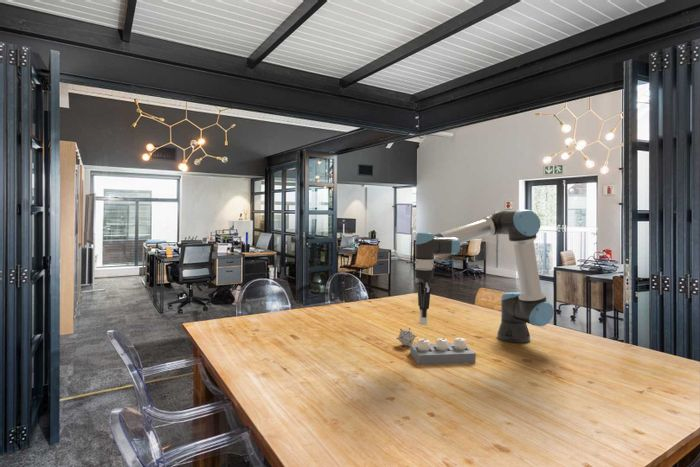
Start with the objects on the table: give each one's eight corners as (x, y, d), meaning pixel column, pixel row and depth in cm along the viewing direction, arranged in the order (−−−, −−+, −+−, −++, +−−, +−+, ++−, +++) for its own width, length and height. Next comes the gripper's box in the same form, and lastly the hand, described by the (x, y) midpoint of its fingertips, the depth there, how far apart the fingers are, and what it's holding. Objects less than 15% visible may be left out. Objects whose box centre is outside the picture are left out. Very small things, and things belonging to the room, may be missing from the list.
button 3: (427, 350, 173) (427, 338, 173) (431, 353, 168) (431, 341, 168) (416, 350, 173) (416, 338, 173) (419, 354, 168) (419, 342, 168)
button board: (462, 351, 180) (462, 342, 180) (475, 362, 166) (475, 353, 166) (410, 353, 177) (410, 344, 177) (418, 364, 163) (418, 355, 163)
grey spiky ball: (409, 354, 187) (415, 341, 181) (392, 347, 188) (398, 333, 182) (414, 340, 194) (420, 327, 188) (397, 333, 195) (403, 320, 189)
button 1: (463, 348, 175) (463, 337, 175) (467, 352, 170) (467, 340, 170) (452, 349, 175) (452, 337, 174) (456, 353, 170) (456, 341, 169)
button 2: (445, 349, 174) (445, 337, 174) (449, 353, 169) (449, 341, 169) (434, 349, 174) (434, 338, 174) (438, 353, 169) (438, 341, 169)
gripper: (411, 267, 175) (410, 320, 176) (419, 270, 163) (418, 328, 163) (428, 267, 176) (427, 320, 177) (437, 270, 163) (436, 328, 164)
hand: (423, 324), depth 170 cm, fingers closed
